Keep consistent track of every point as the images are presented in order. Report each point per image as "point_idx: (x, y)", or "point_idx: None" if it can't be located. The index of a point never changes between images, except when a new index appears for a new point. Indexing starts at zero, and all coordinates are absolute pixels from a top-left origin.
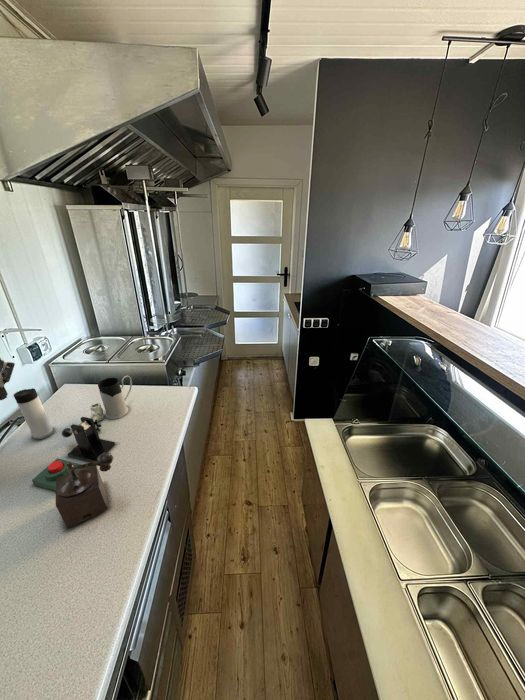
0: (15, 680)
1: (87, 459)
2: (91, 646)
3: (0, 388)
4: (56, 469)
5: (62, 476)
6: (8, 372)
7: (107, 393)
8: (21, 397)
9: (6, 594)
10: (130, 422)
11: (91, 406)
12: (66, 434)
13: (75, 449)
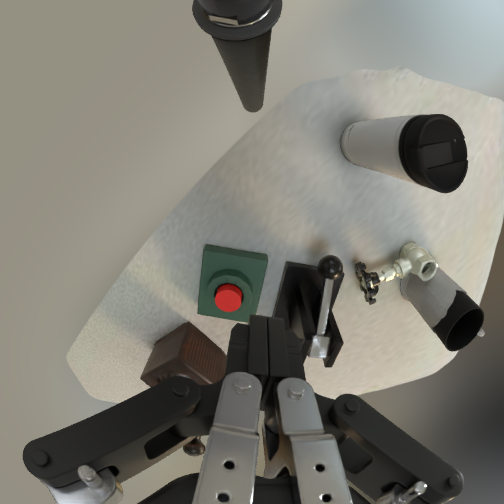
0: (69, 359)
1: (274, 312)
2: (101, 392)
3: (262, 410)
4: (220, 307)
5: (182, 365)
6: (359, 483)
7: (436, 328)
8: (414, 169)
9: (87, 322)
10: (382, 323)
11: (425, 263)
12: (320, 275)
13: (302, 273)
